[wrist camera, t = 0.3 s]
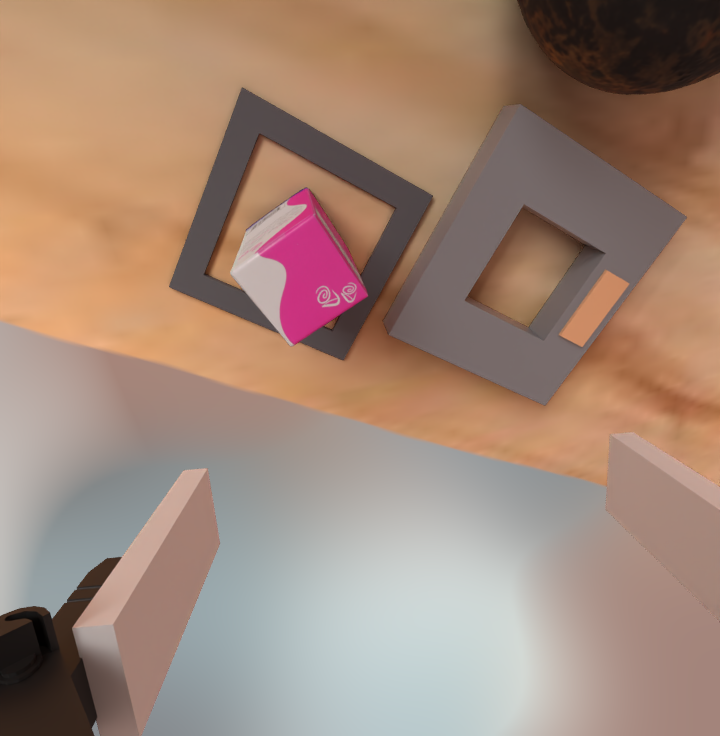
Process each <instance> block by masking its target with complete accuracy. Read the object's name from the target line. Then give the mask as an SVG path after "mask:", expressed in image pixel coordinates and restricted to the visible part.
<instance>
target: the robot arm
mask: <svg viewBox="0 0 720 736" xmlns="http://www.w3.org/2000/svg"><path fill="white" fill-rule="evenodd" d="M606 510H607V511H608V512H609V513H610V514H611V515H612V516H613V517H614V518H615V519H616V520H617V521H618V522H619V523H620V524H621V525H622V526H623V527H624V528H625V529H626V530H627V531H628V532H629V533H630V534H631V535H632V536H633V537H634V538H635V539H636V540H637V541H638V542H639V543H640V544H641V545H642V546H643V547H644V548H645V549H646V550H647V551H648V552H649V553H650V554H651V555H652V556H653V557H654V558H655V559H656V560H657V561H658V562H659V563H660V564H661V565H662V566H663V567H664V568H666V570H667V571H669V572H670V574H672V576H673V577H674V578H676V579H677V580H678V581H679V582H680V583H681V584H682V585H683V586H684V587H685V588H686V589H687V590H688V591H689V592H690V593H691V594H692V595H693V596H694V597H695V598H696V599H697V600H698V601H699V602H700V603H701V604H702V605H703V606H704V607H705V608H706V609H707V610H708V611H709V612H710V613H711V614H712V615H713V616H714V617H715V618H716V619H717V620H718V621H719V622H720V487H719V486H718V485H716V484H715V483H713V482H711V481H710V480H708V479H707V478H705V477H703V476H702V475H700V474H699V473H697V472H695V471H694V470H692V469H691V468H689V467H688V466H686V465H684V464H683V463H681V462H680V461H678V460H676V459H675V458H673V457H672V456H670V455H668V454H667V453H665V452H664V451H662V450H660V449H659V448H657V447H656V446H654V445H653V444H651V443H649V442H648V441H646V440H645V439H643V438H641V437H640V436H638V435H637V434H635V433H633V432H629V433H617V434H610V441H609V459H608V477H607V495H606ZM219 545H220V541H219V535H218V528H217V523H216V516H215V510H214V504H213V498H212V492H211V486H210V480H209V474H208V469H207V468H205V469H194V470H184V471H183V472H182V473H181V475H180V476H179V478H178V479H177V481H176V482H175V483H174V485H173V486H172V488H171V489H170V490H169V492H168V493H167V495H166V496H165V498H164V499H163V500H162V502H161V503H160V505H159V506H158V507H157V509H156V510H155V512H154V513H153V514H152V516H151V517H150V519H149V520H148V522H147V523H146V525H145V526H144V527H143V529H142V530H141V532H140V533H139V534H138V536H137V537H136V538H135V540H134V541H133V543H132V544H131V546H130V547H129V549H128V550H127V551H126V553H125V554H124V555H123V557H117V558H107V559H106V560H104V561H103V562H102V563H100V564H99V565H98V566H96V567H95V568H94V569H92V570H91V571H90V572H89V573H88V574H87V575H86V576H85V578H84V579H83V580H82V582H81V583H80V584H79V585H78V587H77V590H75V591H74V592H73V593H72V594H71V596H70V597H69V598H68V599H67V603H64V605H63V606H62V607H61V609H60V610H59V611H58V612H57V614H56V615H55V616H54V617H53V619H52V618H51V615H50V612H49V611H47V610H46V609H45V608H43V607H36V606H33V607H26V608H20V609H17V610H14V611H11V612H9V613H6V614H3V615H1V616H0V736H94V734H93V731H92V726H93V725H94V723H95V721H97V725H98V729H99V733H100V736H141V735H142V733H143V730H144V728H145V725H146V723H147V721H148V718H149V716H150V713H151V711H152V708H153V706H154V703H155V701H156V699H157V696H158V694H159V691H160V689H161V686H162V684H163V681H164V679H165V677H166V674H167V671H168V669H169V667H170V664H171V662H172V659H173V657H174V655H175V652H176V650H177V647H178V645H179V642H180V640H181V637H182V635H183V632H184V630H185V628H186V625H187V623H188V620H189V618H190V616H191V613H192V611H193V608H194V606H195V603H196V601H197V598H198V596H199V594H200V591H201V589H202V586H203V584H204V581H205V579H206V577H207V574H208V572H209V569H210V567H211V564H212V562H213V559H214V557H215V554H216V552H217V550H218V547H219Z"/></svg>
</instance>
